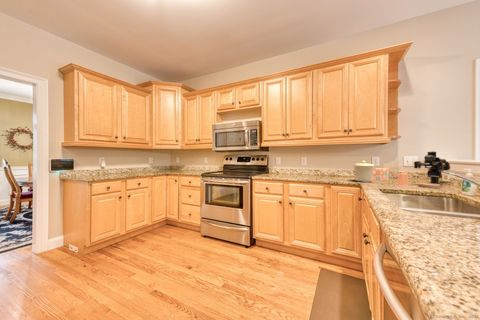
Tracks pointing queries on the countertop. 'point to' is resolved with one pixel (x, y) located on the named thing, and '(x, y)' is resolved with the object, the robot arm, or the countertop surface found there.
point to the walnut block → (429, 185)
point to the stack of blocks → (380, 174)
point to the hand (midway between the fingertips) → (424, 167)
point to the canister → (363, 172)
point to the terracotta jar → (402, 179)
